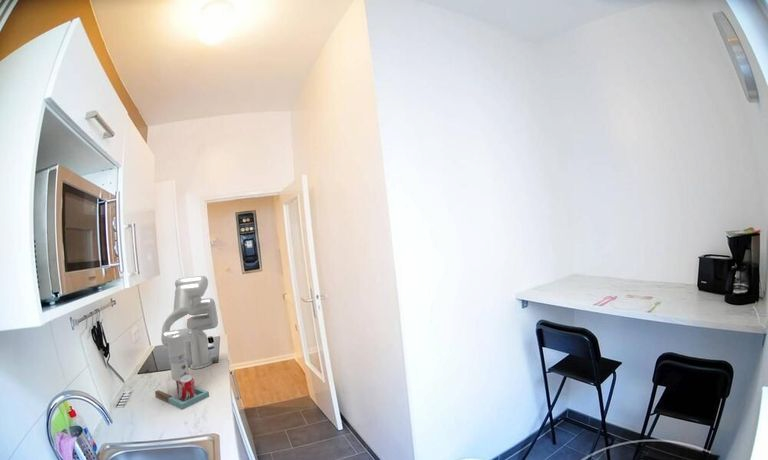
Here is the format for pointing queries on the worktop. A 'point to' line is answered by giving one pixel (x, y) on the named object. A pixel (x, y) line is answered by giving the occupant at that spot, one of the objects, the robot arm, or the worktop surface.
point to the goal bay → (178, 403)
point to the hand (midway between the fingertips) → (181, 393)
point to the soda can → (186, 387)
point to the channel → (162, 395)
